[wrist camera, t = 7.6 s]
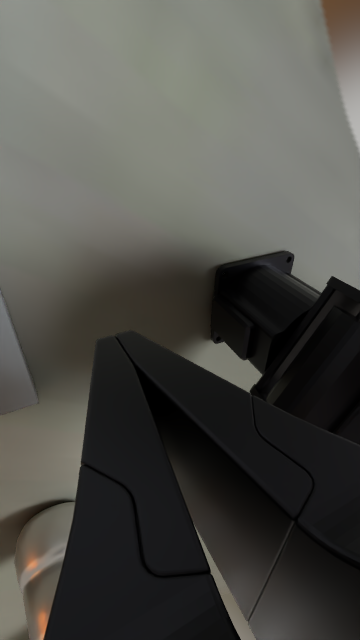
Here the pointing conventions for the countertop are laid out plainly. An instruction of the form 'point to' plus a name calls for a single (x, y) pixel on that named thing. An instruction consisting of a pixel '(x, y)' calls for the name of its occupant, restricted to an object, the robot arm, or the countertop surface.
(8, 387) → the bearing block
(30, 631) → the plastic bottle
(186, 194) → the countertop surface
